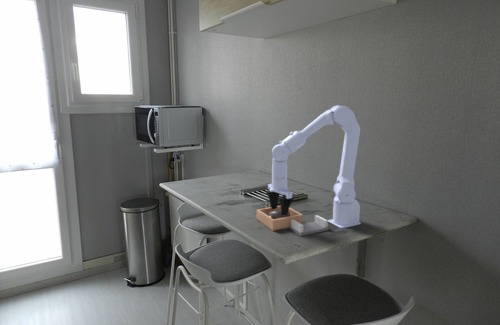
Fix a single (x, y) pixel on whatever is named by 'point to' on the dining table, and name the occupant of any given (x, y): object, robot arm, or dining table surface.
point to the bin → (280, 222)
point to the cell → (277, 214)
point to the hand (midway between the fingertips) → (279, 211)
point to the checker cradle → (309, 226)
